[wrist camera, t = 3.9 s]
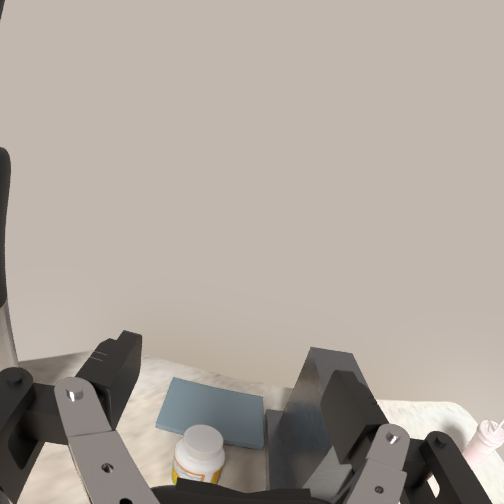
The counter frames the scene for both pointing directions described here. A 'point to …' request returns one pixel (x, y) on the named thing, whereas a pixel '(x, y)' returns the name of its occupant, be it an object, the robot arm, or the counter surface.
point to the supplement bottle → (199, 455)
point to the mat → (213, 412)
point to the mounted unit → (307, 431)
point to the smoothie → (483, 442)
